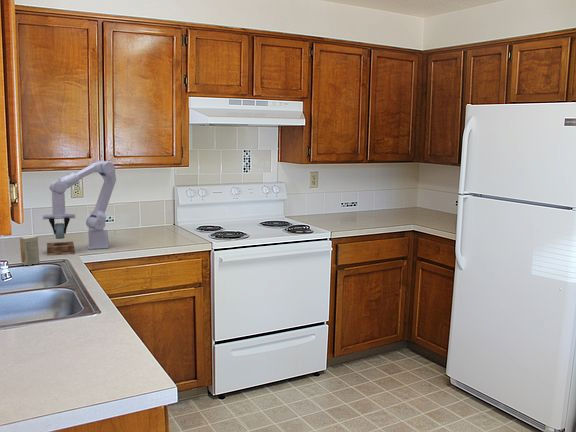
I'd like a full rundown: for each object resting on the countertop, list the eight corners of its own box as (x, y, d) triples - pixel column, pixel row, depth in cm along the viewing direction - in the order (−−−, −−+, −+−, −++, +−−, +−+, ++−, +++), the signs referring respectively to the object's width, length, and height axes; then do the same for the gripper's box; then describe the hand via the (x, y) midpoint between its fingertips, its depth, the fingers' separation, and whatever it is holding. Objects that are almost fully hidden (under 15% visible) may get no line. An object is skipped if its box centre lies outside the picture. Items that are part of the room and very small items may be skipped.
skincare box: (35, 262, 254) (33, 235, 253) (39, 263, 251) (38, 236, 250) (20, 264, 249) (19, 237, 248) (25, 266, 247) (24, 238, 245)
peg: (63, 237, 278) (63, 222, 277) (65, 238, 274) (64, 224, 273) (55, 237, 276) (54, 223, 275) (56, 239, 272) (55, 224, 271)
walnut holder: (73, 248, 284) (73, 241, 284) (74, 253, 273) (74, 245, 273) (47, 250, 280) (46, 242, 279) (47, 255, 269) (47, 247, 268)
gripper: (42, 207, 267) (43, 235, 269) (75, 206, 272) (76, 234, 274) (42, 205, 273) (43, 233, 275) (74, 204, 279) (75, 231, 281)
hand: (59, 233), depth 275 cm, fingers closed on peg, 4 cm apart
